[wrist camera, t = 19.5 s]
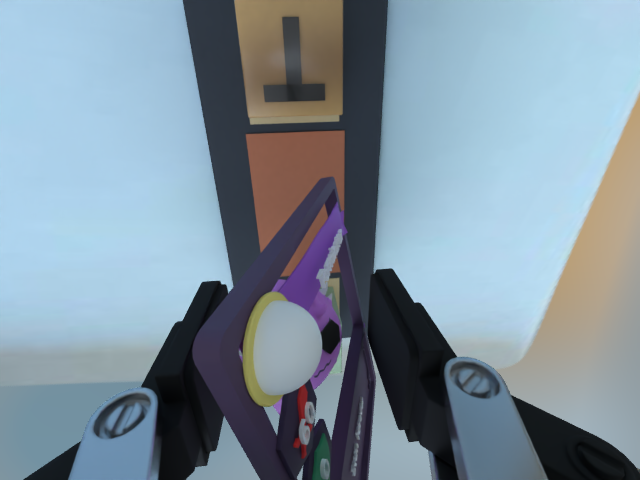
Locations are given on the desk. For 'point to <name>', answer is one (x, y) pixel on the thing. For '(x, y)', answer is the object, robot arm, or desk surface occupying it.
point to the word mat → (293, 144)
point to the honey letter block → (291, 56)
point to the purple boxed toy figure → (293, 353)
